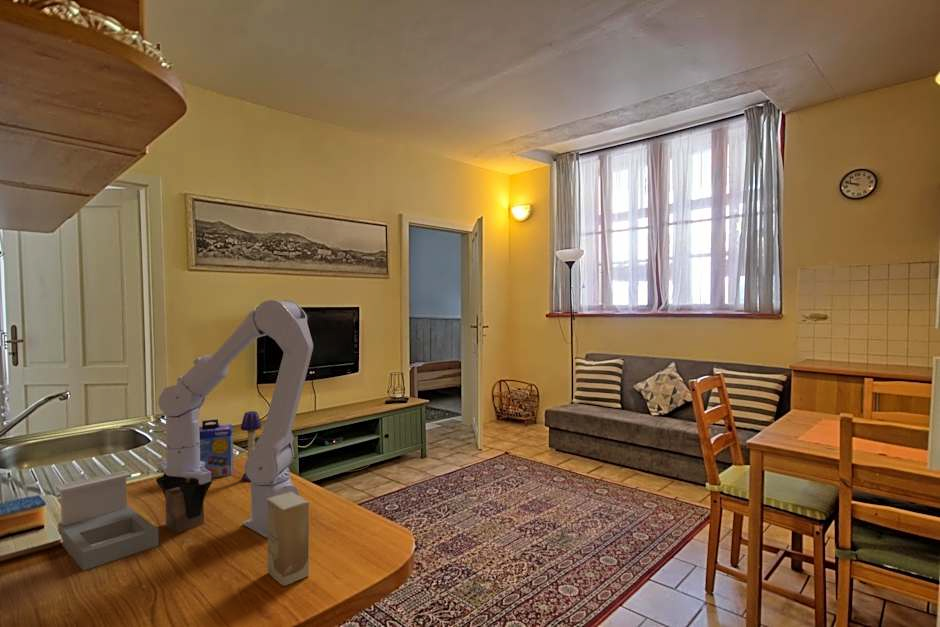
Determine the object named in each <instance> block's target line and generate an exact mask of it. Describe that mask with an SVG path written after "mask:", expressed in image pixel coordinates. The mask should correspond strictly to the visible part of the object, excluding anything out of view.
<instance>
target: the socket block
mask: <svg viewBox="0 0 940 627" xmlns="http://www.w3.org/2000/svg"><path fill="white" fill-rule="evenodd" d="M130 478H132V473H130V472H129V471H127V470H122V471H121V470H120V471H117V472H113V473H108V474H104V475H100V476H95V477H90V478H87V479H81V480H77V481H73V482H68V483H64V484H60V485H59V484H58V485H56V486H55V487H56V491H58V493H60V518H61V521H60V522H61V523H58V524H57V533H58V532H59V534H60V535H61V537H62V539H63V545H62V547H63V548H64V547H65V548H64V549H65V550H66V551H67V553H68V554H69V555H70V557H71V558H73V560H74V561H75V562H76V563H77V565H78V566H79V567H80V569H82V571H88V570H91V569H93V568H96V567H99V566H102V565H105V564H107V563H110V562H114V561H117V560H120V559H123V558H126V557H129V556H131V555H134V554H137V553H141V552H144V551H146V550H147V551H148V550H149V549H153V548H155V547H158V546H159V545H160V544H159V528H157V527H156V526H155V525H153V523H152V522H150V521H148V520H147V519H146V518H145V517H143V516H142V515H141V514H139V513H138V512H137V511H135V510H134V509H133V508H132V507H130V506H129V505H127V504H128V502H127V500H128V499H127V498H128V496H127V479H130Z"/></svg>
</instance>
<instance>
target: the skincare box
mask: <svg viewBox="0 0 940 627" xmlns="http://www.w3.org/2000/svg"><path fill="white" fill-rule="evenodd" d="M267 501H268V537H267V572H268V574H269V575H270V576H271V577H272V578H273V579H274V580H275V581H276V582H278V584H280V585H281V586H282V585H283V586H285V585H287V584H290V583H292V584H294V583H293V582H295V581H297V580H300V579H302V578H304V577H306V576H308V575H309V576H310V570H309V568H310V563H309V562H310V558H309V557H310V551H309V549H310V545H309V544H310V543H309V541H310V540H309V539H310V536H309V535H310V532H309V531H310V527H309V526H310V519H309V518H310V516H309V514H310V512H309V511H310V508H309V507H310V506H309V505H310V503H309V501H308V500H306V499H304V498H303V497H302V496H298V495H296V494H295V493H293V492H288V493H285V494H281V495H278V496H274V497H271V498H268V499H267ZM304 579H305V578H304ZM302 580H303V579H302ZM300 581H301V580H300ZM297 582H298V581H297ZM295 583H296V582H295ZM290 585H291V584H290ZM283 586H282V587H283ZM287 586H288V585H287ZM285 587H286V586H285Z"/></svg>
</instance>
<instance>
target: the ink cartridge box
mask: <svg viewBox="0 0 940 627" xmlns="http://www.w3.org/2000/svg"><path fill="white" fill-rule="evenodd" d="M201 422H202V424H201V425H202V426H199V433H200V461H202V462H205V466H203V467H204V468H205V469H206V470H208V471H211V479H212V478H220V477H221V478H222V477H230V476H232V475H233V473H234V448H233V447H234V446H233V445H234V444H233V440H234V437H233V435H234V434H233V424H231V423H228V424H220V423H219V419H208V420H205V419H204V420H202V421H201ZM208 423H209V424H208ZM210 423H211V424H210Z"/></svg>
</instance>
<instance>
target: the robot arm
mask: <svg viewBox="0 0 940 627" xmlns="http://www.w3.org/2000/svg"><path fill="white" fill-rule="evenodd" d="M265 336H268V337H269V338H271V339H272V340H274V341H275V342H276V344H277V345H278V346H279V348H280V350H282V352H283V354H282V359H281V362H280V366H279V369H278V375H277V378H276V381H275V385H274V388H273V389H274V390H273V391H272V392H273V393H272V395H271V401H270V405H269V408H268V412H267V417H266V420H265V424H264V427H263V430H262V432H261V433H260V436H259V438H258V439H257V440H256V441H255V446H254V447H255V448H254V451H253V453H252V454H251V455H250V456H249V457H248V458H246V460H245V464H244V473H246V475H247V477H248V478H249V479H250V480H251V481H250V497H251V498H250V499H251V500H250V503H251V506H250V507H251V508H250V512H251V518H250V519H247V520H244V521H242V525H243V526H245V527H247V528H249V529H250V530H252V531H254V532H256V533H258V534H259V535H261V536H262V537H265V538H268V501H267V499H268V498H271V497H274V496H278V495H281V494H285V493H288V492H293V493H295V494H296V495H298V496H300V492H299V490H298V488H297V487H296V486H295V485H294V484H293V483H292V480H291V472H290V469H289V466H290V464H292V462H293V460H294V455H295V452H294V447H293V442H294V439H295V436H294V434H293V432H292V430H293V427H294V423H295V420H296V417H297V416H296V415H297V412H298V408H299V405H300V401H301V396H302V392H303V390H304V389H303V388H304V385H305V381H306V377H307V373H308V368H309V366H310V362H311V357H312V355H313V354H312V353H313V350H314V342H313V339H312V336H311V332H310V328H309V324H308V315H307V314H306V312H305V310H304V309H303V308H302V307H301V306H300V305H299V303H297V302H295V301H292V300H274V299H268V300H265V301H262V302H261V303H259V305H258V306H257V307H256V309H255V310H252V311H251V312H250V313H248V315H247V316H246V317H245V319H244V320H243V321H242V323H241V324H240V325H239V326H238V327H237V328H236V329H235V330H234V331H233V332H232V333H231V335H230V336H229V337H228V338H227V339H226V340H225V341H224V343H222V345H220V347H219V348H218V349H217V351H215V353H214V354H205V355H203V356H202V357H201V356H200V357H196V358H195V359H194V360H193V362H192V363H193V364H194V365H193V366H192V367H191V368H190V369H189V370H188V371H186V373H185V374H184V375H180V376H179V377H178V378H177V379H176V382H177V383H176V385H170V386H167V387H165V388H164V389H163V390H162V392H161V393H160V395H159V397H158V406H159V409H160V410H161V412H162V413H164V415H165V440H166V443H165V444H166V445H165V449H166V451H165V452H166V460H165V461H161V462H158V463H157V465H158V466H157V469H158V470H157V471H158V473H159V474H162V476H160V477H157V478H156V480H155V481H156V483H157V485H158V486H159V488H160V489H161V490H162V493H163V495H164V498H165V499H166V494H165V490H169V489H173V488H177V487H179V488H180V490H181V492H182V494H183V496H184V500H185V505H186V513H187V517H188V518H189V519H192V518H194V517H197V516H199V515H200V513H201V509H202V505H203V506H204V501H205V497H206V495H207V493H208V491H209V488H210V487H211V485H212V483H213V479H212V478H211V471H208V470H206V469H205V468H204V467H203V466H205V462H202V461H200V433H199V427H200V410H201V407H202V406H203V405H204V403H205V400H206V397H207V396H208V395H209V394H210V393H211V392H212V391H213V390H214V389H215V388H216V387H217V386H218V385H219V384H220V383H221V382H222V381H223V380H224V379H225V378H226V377H227V376H228V374H229V365H230V364H231V363H232V362H233V361H234V360H235V359H236V358H237V357H238V356H239V355H240V354H241V353H243V352H244V351H245V350H246V349H247V348H249V346H250V345H252V343H254V342H255V341H256V340H257V339H258V338H261V337H265ZM187 480H188V481H187ZM300 497H301V496H300Z"/></svg>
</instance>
